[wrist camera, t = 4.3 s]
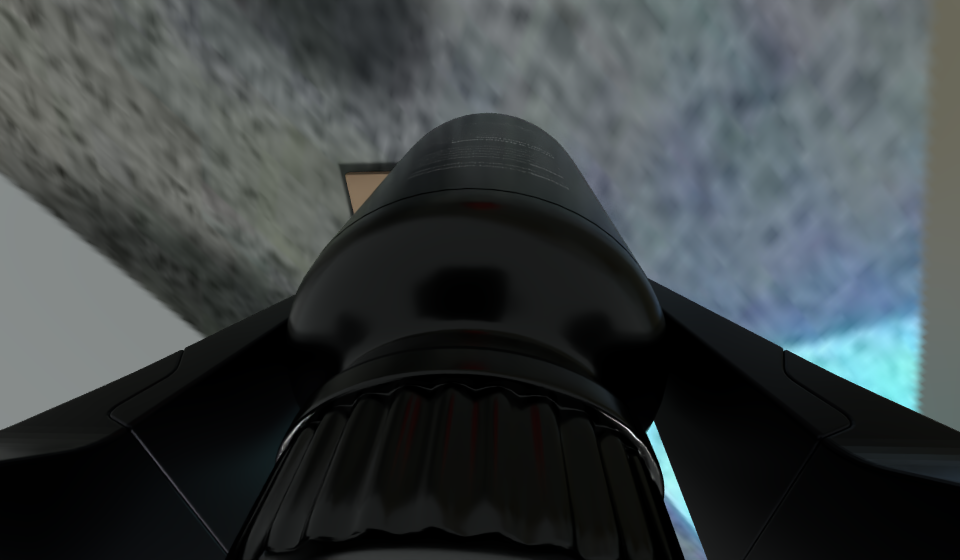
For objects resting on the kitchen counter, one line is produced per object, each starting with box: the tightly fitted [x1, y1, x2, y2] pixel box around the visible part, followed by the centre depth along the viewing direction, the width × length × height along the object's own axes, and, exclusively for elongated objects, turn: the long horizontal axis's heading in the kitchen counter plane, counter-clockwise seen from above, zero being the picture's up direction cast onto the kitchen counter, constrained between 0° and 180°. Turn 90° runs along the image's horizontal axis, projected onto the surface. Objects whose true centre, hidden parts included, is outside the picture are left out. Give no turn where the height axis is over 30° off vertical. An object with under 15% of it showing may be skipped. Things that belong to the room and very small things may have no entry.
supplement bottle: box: [225, 113, 685, 560], centre depth 9 cm, size 7×7×12 cm
